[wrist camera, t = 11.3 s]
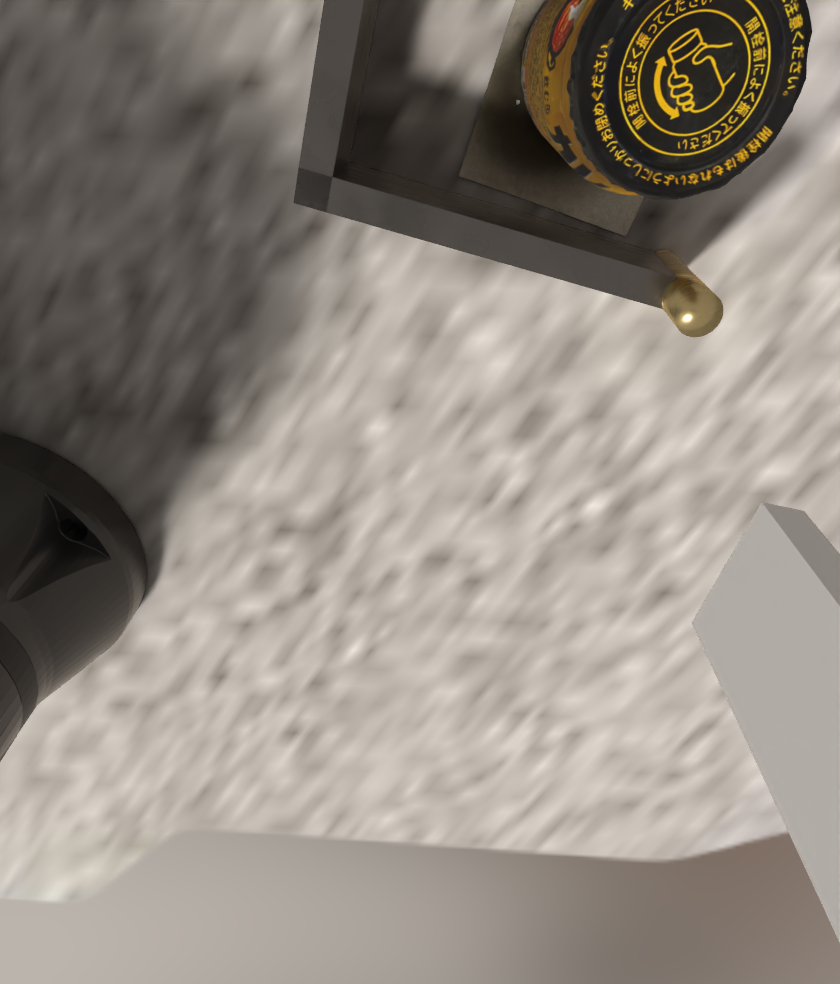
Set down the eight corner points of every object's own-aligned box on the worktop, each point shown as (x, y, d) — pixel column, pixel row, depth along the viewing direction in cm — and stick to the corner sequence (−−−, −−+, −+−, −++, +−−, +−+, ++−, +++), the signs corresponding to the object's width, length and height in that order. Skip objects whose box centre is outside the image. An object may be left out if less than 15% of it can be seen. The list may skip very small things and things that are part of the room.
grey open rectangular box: (313, 189, 28) (279, 219, 23) (392, -286, 21) (367, -394, 16) (668, 292, 30) (709, 342, 25) (859, -121, 22) (974, -171, 17)
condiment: (737, -5, 24) (932, -46, 14) (624, 235, 29) (710, 336, 18) (543, -87, 23) (600, -194, 13) (458, 174, 28) (451, 245, 18)
